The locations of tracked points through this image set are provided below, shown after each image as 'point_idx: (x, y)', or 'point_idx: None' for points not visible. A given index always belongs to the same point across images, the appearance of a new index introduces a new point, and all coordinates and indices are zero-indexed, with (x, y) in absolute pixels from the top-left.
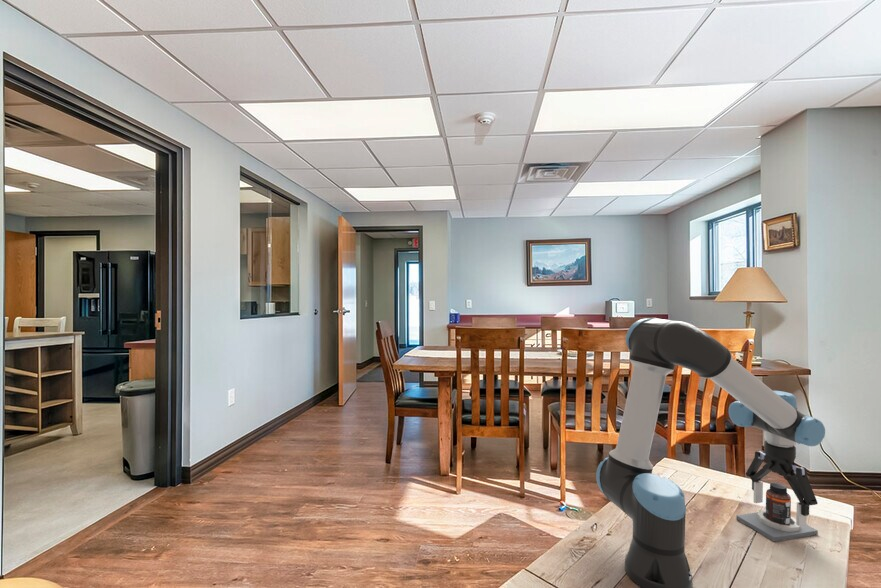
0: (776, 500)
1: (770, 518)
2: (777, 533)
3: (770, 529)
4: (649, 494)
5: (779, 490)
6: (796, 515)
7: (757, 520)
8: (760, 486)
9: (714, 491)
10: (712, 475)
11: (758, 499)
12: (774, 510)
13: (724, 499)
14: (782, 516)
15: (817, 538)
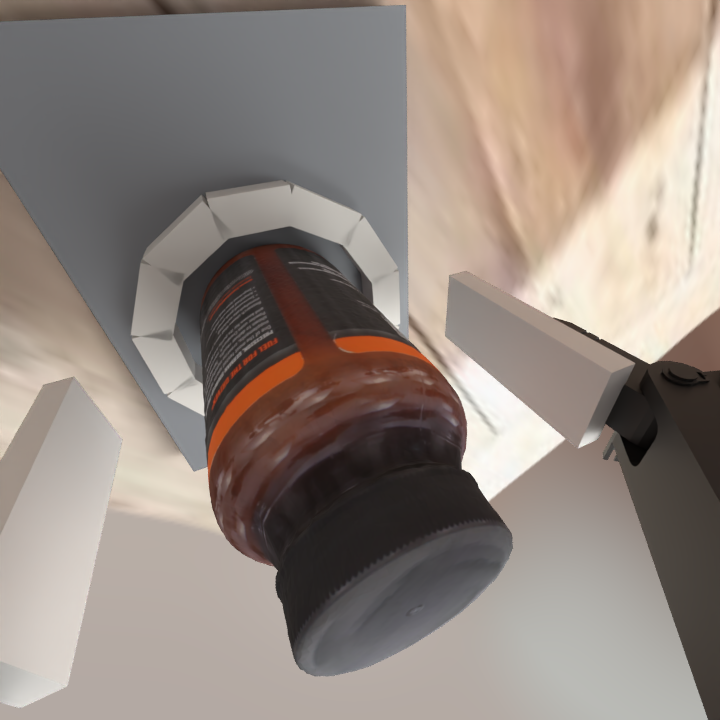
0: (249, 390)
1: (266, 255)
2: (64, 166)
3: (144, 155)
4: None
5: (304, 568)
6: (41, 444)
7: (306, 163)
8: (548, 394)
9: (642, 206)
10: (685, 309)
11: (464, 313)
12: (247, 305)
13: (580, 194)
14: (205, 338)
15: (144, 435)
